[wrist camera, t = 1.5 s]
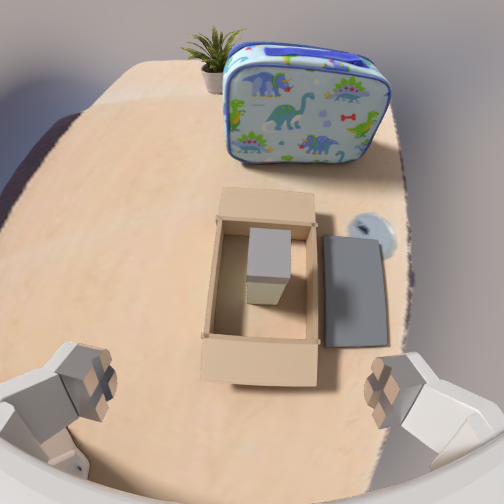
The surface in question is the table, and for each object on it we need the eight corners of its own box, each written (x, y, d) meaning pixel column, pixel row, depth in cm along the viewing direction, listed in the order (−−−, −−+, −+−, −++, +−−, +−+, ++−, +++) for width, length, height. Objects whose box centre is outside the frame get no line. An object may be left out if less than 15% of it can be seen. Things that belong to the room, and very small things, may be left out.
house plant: (225, 68, 62) (223, 16, 47) (262, 86, 58) (266, 27, 43) (180, 87, 58) (171, 31, 43) (215, 108, 54) (210, 42, 39)
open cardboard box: (311, 385, 32) (319, 386, 29) (202, 379, 32) (196, 379, 29) (310, 208, 43) (315, 193, 40) (222, 202, 43) (220, 186, 40)
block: (277, 305, 37) (290, 278, 27) (245, 303, 37) (246, 275, 27) (278, 269, 39) (290, 230, 29) (248, 267, 39) (250, 227, 29)
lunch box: (350, 131, 52) (379, 48, 33) (367, 169, 48) (409, 79, 29) (224, 130, 51) (220, 34, 32) (226, 170, 46) (219, 60, 27)
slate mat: (384, 345, 34) (387, 344, 33) (324, 347, 34) (326, 346, 33) (375, 242, 41) (378, 240, 40) (321, 238, 41) (323, 235, 40)
